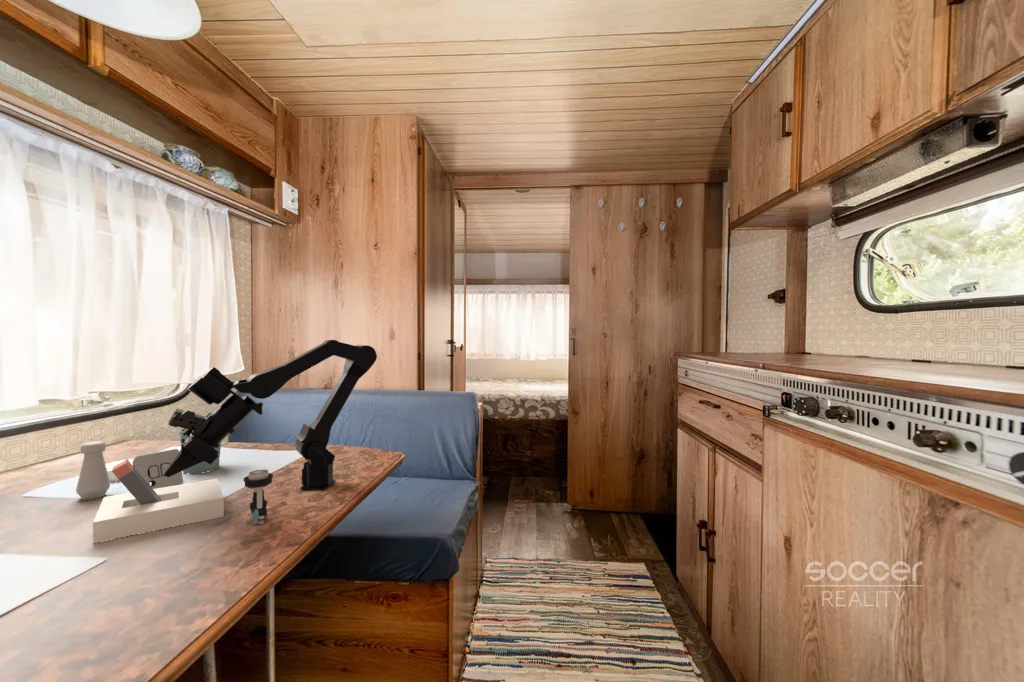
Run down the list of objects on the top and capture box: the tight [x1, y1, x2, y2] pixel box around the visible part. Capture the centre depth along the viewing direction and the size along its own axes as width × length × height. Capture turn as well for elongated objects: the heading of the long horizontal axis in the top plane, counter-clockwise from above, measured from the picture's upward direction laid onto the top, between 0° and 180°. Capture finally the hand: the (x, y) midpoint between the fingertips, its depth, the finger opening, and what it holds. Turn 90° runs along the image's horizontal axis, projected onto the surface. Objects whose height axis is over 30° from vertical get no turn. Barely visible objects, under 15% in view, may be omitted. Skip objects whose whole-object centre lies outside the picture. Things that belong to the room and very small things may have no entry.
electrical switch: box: [132, 448, 184, 489], centre depth 109 cm, size 9×5×9 cm, turn 152°
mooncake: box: [105, 458, 134, 482], centre depth 119 cm, size 12×12×4 cm
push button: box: [243, 469, 274, 525], centre depth 89 cm, size 7×5×10 cm
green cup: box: [179, 428, 222, 475], centre depth 124 cm, size 10×10×12 cm
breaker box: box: [92, 478, 225, 545], centre depth 91 cm, size 20×16×4 cm
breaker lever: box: [112, 458, 161, 505], centre depth 89 cm, size 2×4×11 cm, turn 39°
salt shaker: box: [75, 440, 111, 501], centre depth 102 cm, size 6×6×13 cm
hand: (165, 475), depth 92 cm, fingers closed
